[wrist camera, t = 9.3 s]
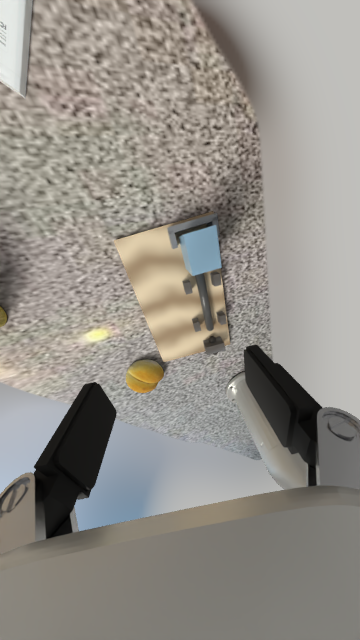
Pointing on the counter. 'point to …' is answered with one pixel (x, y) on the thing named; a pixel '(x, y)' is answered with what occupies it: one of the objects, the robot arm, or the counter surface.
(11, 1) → the external hard drive
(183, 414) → the counter surface
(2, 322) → the vase
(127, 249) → the board
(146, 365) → the bread roll
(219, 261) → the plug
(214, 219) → the end holder
